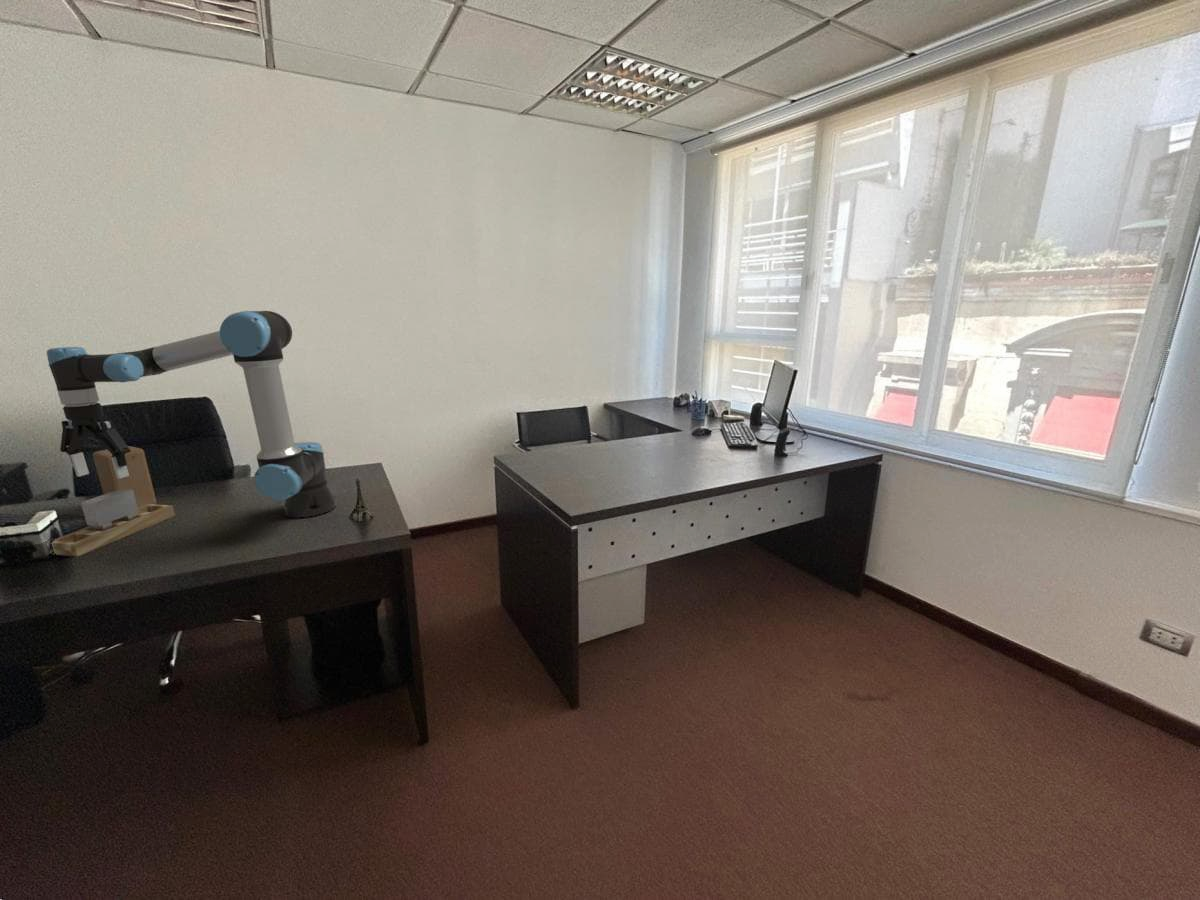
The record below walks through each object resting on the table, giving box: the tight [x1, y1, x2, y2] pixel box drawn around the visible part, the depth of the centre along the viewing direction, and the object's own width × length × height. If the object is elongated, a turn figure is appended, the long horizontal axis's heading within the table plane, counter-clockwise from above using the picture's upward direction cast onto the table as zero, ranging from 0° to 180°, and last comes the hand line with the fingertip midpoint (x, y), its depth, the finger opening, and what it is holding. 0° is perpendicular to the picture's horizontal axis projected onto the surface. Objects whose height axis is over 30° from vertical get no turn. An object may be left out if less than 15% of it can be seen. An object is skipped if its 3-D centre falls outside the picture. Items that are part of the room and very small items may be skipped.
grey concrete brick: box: [80, 489, 138, 531], centre depth 148 cm, size 4×11×12 cm, turn 172°
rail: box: [51, 503, 176, 557], centre depth 150 cm, size 9×28×4 cm, turn 172°
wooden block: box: [92, 445, 157, 508], centre depth 166 cm, size 10×10×20 cm
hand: (103, 476), depth 145 cm, fingers open, 13 cm apart
